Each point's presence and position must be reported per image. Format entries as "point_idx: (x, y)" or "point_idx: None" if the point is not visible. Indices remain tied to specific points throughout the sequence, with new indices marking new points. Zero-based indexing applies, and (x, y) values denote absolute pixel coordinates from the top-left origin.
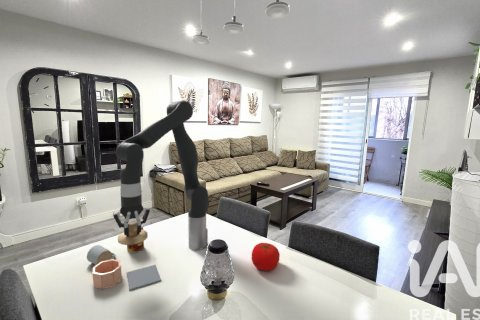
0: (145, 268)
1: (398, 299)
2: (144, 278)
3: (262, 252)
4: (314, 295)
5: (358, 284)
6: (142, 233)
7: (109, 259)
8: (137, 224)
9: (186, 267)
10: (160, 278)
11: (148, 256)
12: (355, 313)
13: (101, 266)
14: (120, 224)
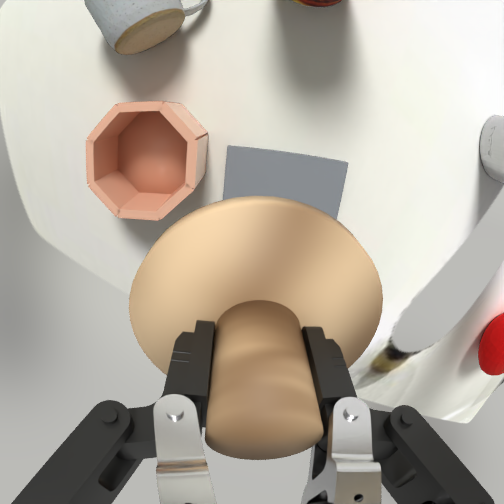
0: (304, 165)
1: (476, 410)
2: None
3: (499, 369)
4: (455, 395)
5: (488, 390)
6: (339, 333)
7: (174, 29)
8: (322, 410)
9: (416, 242)
10: None
11: (345, 72)
12: (444, 417)
13: (123, 115)
14: (126, 465)
